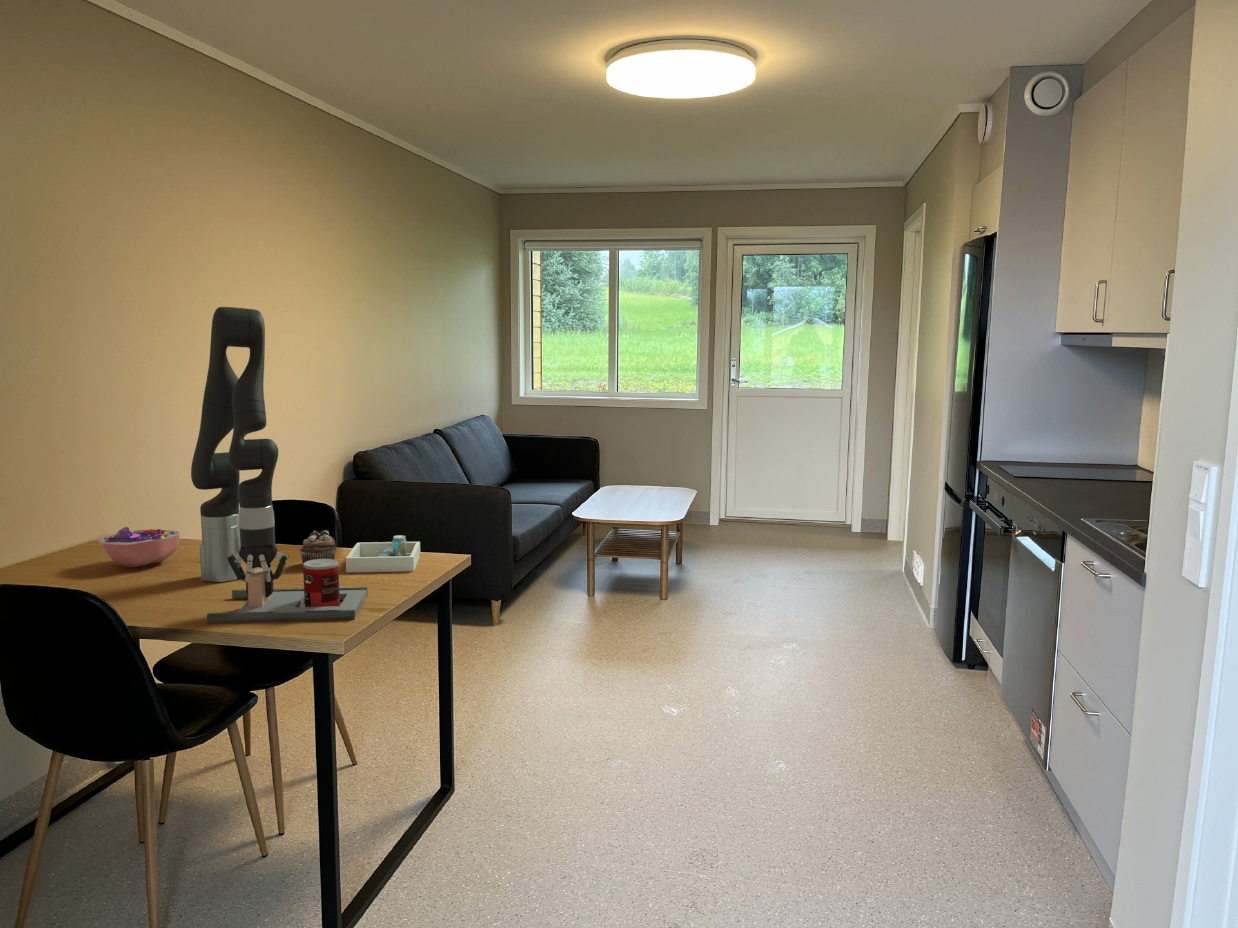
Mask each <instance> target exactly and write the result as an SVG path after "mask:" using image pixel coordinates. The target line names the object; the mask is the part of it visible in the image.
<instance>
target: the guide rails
mask: <svg viewBox="0 0 1238 928" xmlns="http://www.w3.org/2000/svg"><path fill="white" fill-rule="evenodd" d="M339 590H366V593H367V596H368V595H369V593H368V590H369V589H368V586H365V587H363V586H362V587H361V586H360V587H355V586H354V587H339ZM282 591H304V588H273V592H282ZM231 600H249V599H248V595H247V593H246V589H233V590H231ZM355 619H356V616H355V610H317V611H275V612H238V611H236V612H207V614H206V623H207V624H223V623H224V624H225V623H229V624H230V623H262V622H263V623H265V622H268V623H271V622H299V621H301V622H302V621H303V622H305V621H340V620H341V621H345V620H346V621H348V620H355Z"/></svg>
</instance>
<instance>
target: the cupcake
mask: <svg viewBox="0 0 1238 928" xmlns="http://www.w3.org/2000/svg"><path fill="white" fill-rule="evenodd" d="M336 550H337V546H336V541H335V539H334V538H333V537H332V536H330V533H329V531H328V530H327V529H325V530H321V531H317V530H313V531H311V533H310V534H309V536H308V537H307V538H306V539H304V540H303V541H302V547H301V548H300V549H299V553H300V556H301V562H302V565H303V564H304V563H305V562H307V561H310V560H315V559H333V560H335V556H336V552H337V551H336Z"/></svg>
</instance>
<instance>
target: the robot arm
mask: <svg viewBox="0 0 1238 928" xmlns="http://www.w3.org/2000/svg"><path fill="white" fill-rule="evenodd" d="M210 329H211V331H210V332H211V333H210V343H209V344H210V345H209V346H210V347H209V362H208V370H207V375H206V382H205V386H204V391H203V398H202V406H201V416H200V425H199V431H198V432H199V433H198V437H197V440H196V444H195V448H194V453H193V456H192V460H191V467H190V469H191V470H190V477H191V483H192V485H193V487H195V488H196V489H198V490H204V491H205V490H218V489H221V490H220V491H219V493H218V494H216V495H215V496H214V497H212V498H211V499H208V500H207V501H204V502H202V503H201V504H200V506H199V507H200V508H199V509H200V512H199V513H200V527H201V529H200V530H201V543H200V545H199V561H200V562H199V563H200V575H201V578H200V579H201V582H202V581H204V582H212V583H221V582H223V583H224V582H229V581H235V580H239V581H244V583H245V590H246V593H247V595H248V579H247V577H249V576H250V575H251V574H252V573H253V572H254V571H255V570H256V569H257V568H262V570H263V573H264V575H265V579H266V582H265V595H266V597H270V596H271V594H272V593H273V589H274V580H278V579H279V578H280V577H281V576H282V573H283V571H284V570H285V567H286V564H287V562H288V560H289V557H290V555H289V554H288V553H282V552H280V551H279V550H278V548H277V546H276V533H275V531H276V530H275V529H276V528H275V523H276V522H275V521H276V520H275V511H274V508H273V493H272V492H273V491H272V490H273V489H272V488H273V486H272V485H273V477H274V473H275V470H276V466H277V463H278V460H279V447H278V445H277V444H276V442H275V441H274V440H273V439H271V438H250V439H245V437H246V436H247V435H248V434H252V433H256V432H259V431H262V430H264V429H265V428H266V427H267V413H266V405H265V395H264V394H265V393H264V382H265V381H264V378H265V358H266V357H265V354H266V353H265V351H266V346H265V345H266V328H265V320H264V316H263V315H262V312H261V311H259V310H258V309H254V308H244V307H233V306H218V307H217V308H216V309H215V310H214V313H213V316H212V321H211V328H210ZM228 347H233V348H248V349H249V357H248V362H247V364H246V366H245V368H244V370H243V371H242V373H241V375H240V376H239V377H238V376H237V373H235V371H234V370H233V368H232V366H231V364H230V361H229V359H228V355H227V350H228ZM232 430H233V431H232ZM231 431H232V435H231V436H232V437H231V441H230V445H229V449H228V451H227V452H216V450H217V448H218V446H219V444H220V443H221V442H222V441H223V440H224V439H226V438H225V437H226V436H228V434H230V433H231ZM252 470H253V471H254V470H256V471H257V470H258V471H259V470H261V472H260V473H259V474H258V475H257V476H256V477H253V478H250V479H246V480H243V481H241V482H240V480H241V479H240V475H241V473H240V471H252ZM275 558H276V561H277V563H278V565H277V567H276V570H275V571H274V572H273V565H272V562H273V560H274V559H275ZM242 560H243V561H242ZM242 562H244V563H245V564H246V568H245V571H244V569H243V563H242Z"/></svg>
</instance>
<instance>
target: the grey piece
mask: <svg viewBox="0 0 1238 928" xmlns="http://www.w3.org/2000/svg"><path fill="white" fill-rule="evenodd" d="M247 579H248V599H247V601H246V602H245V603H244V605H243V606H242V607H241V608H239V610H237V612H275V611H317V610H355V617H356V616H357V614H358V612H359V611H360V608H361V607H362V605H363V603H364V601H365V599H366V597H368V595H367V593H366V590H339V598H340V600H341V601H342V600H343V601H342V602H341V604H339V606H326V607H305V606H303V604H305V599H304V591H282V592H273V593H272V594H271V596H270V597H266V595H265V582H266V579H265V575H264V573H263V570H262V568H260V567H256V568H255V571H254V572H253V573H252V574H251V575H250V576H249V577H247Z"/></svg>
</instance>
